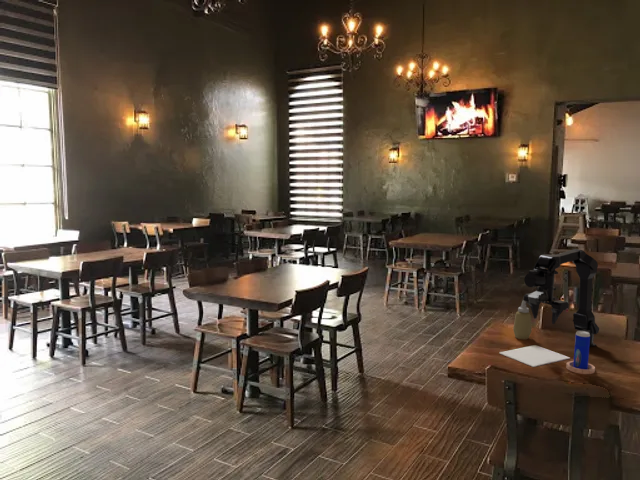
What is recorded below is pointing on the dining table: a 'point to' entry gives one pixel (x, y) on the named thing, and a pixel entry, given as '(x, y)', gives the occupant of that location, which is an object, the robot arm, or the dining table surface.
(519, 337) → the squeeze bottle
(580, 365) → the beverage can
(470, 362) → the dining table surface
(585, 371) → the terracotta ring
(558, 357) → the grey mat
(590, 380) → the dining table surface
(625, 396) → the dining table surface
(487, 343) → the dining table surface
